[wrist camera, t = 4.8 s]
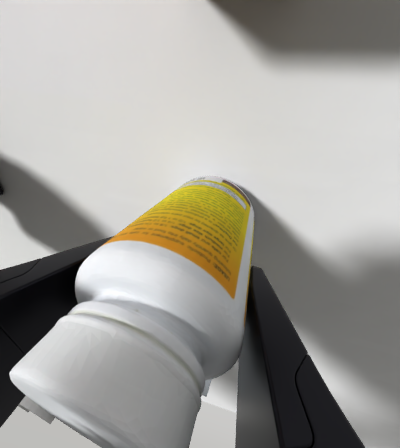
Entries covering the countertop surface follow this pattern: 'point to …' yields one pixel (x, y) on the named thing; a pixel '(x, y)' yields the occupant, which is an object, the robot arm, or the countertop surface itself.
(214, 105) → the countertop surface
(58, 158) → the countertop surface
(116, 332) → the supplement bottle
